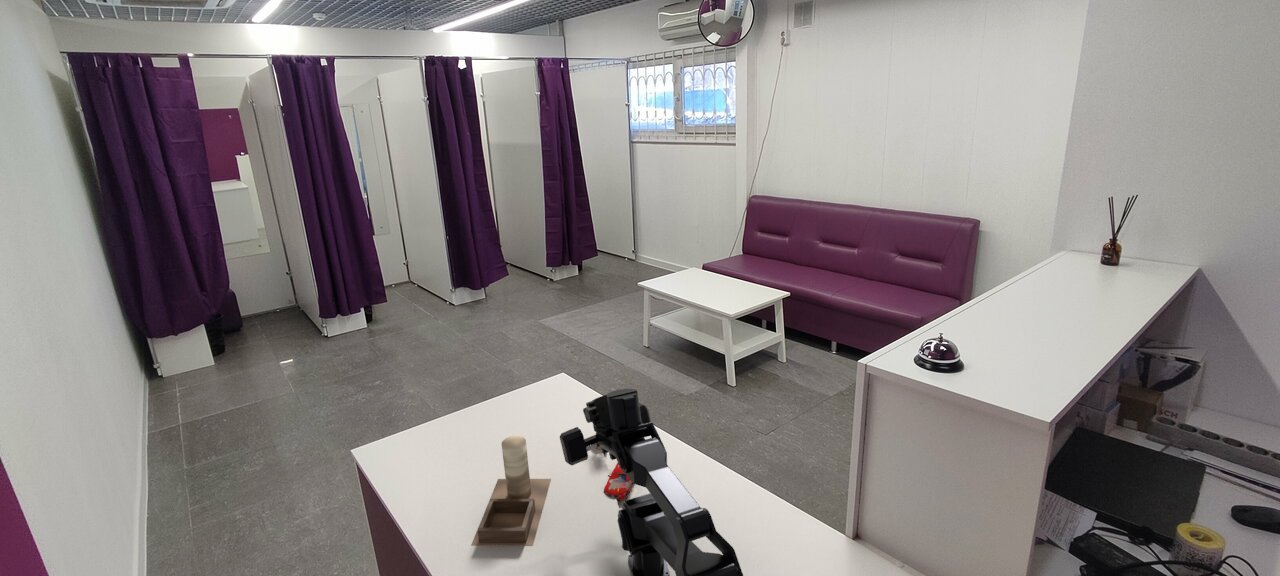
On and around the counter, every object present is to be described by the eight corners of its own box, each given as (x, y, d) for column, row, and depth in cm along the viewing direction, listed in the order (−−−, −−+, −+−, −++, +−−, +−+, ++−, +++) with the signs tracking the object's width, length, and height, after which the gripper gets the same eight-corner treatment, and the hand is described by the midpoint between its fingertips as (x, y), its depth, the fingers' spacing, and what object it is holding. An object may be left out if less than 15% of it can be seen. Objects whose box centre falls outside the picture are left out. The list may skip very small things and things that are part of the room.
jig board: (533, 550, 112) (531, 532, 111) (471, 550, 113) (469, 532, 111) (551, 483, 131) (550, 467, 130) (498, 483, 132) (496, 467, 130)
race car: (624, 506, 124) (623, 490, 123) (600, 501, 125) (599, 486, 124) (642, 468, 136) (642, 453, 134) (620, 464, 137) (620, 450, 136)
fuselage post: (531, 499, 124) (526, 447, 120) (507, 503, 123) (501, 450, 119) (530, 484, 129) (525, 433, 125) (507, 488, 128) (501, 437, 124)
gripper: (656, 386, 113) (622, 374, 127) (567, 419, 105) (541, 402, 119) (668, 440, 114) (633, 422, 128) (581, 477, 106) (554, 453, 120)
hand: (591, 424), depth 124 cm, fingers open, 9 cm apart
